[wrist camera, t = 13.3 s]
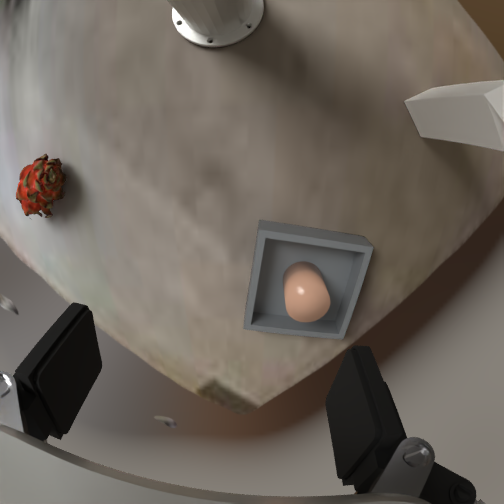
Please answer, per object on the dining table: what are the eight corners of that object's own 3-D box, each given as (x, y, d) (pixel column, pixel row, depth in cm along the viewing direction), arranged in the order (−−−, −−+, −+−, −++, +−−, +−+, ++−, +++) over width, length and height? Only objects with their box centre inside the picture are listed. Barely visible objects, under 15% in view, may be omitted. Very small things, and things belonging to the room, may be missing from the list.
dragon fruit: (80, 155, 42) (51, 201, 47) (38, 134, 36) (14, 184, 41) (72, 190, 37) (44, 237, 42) (23, 167, 31) (2, 220, 36)
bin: (259, 219, 44) (258, 229, 40) (364, 236, 44) (373, 247, 40) (244, 313, 50) (243, 329, 46) (337, 323, 50) (342, 339, 46)
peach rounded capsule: (286, 258, 45) (290, 281, 39) (325, 264, 45) (335, 287, 39) (279, 293, 47) (281, 319, 41) (316, 298, 48) (323, 324, 41)
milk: (447, 122, 37) (552, 137, 16) (419, 137, 38) (524, 158, 18) (431, 86, 35) (535, 78, 14) (402, 100, 36) (505, 94, 16)
